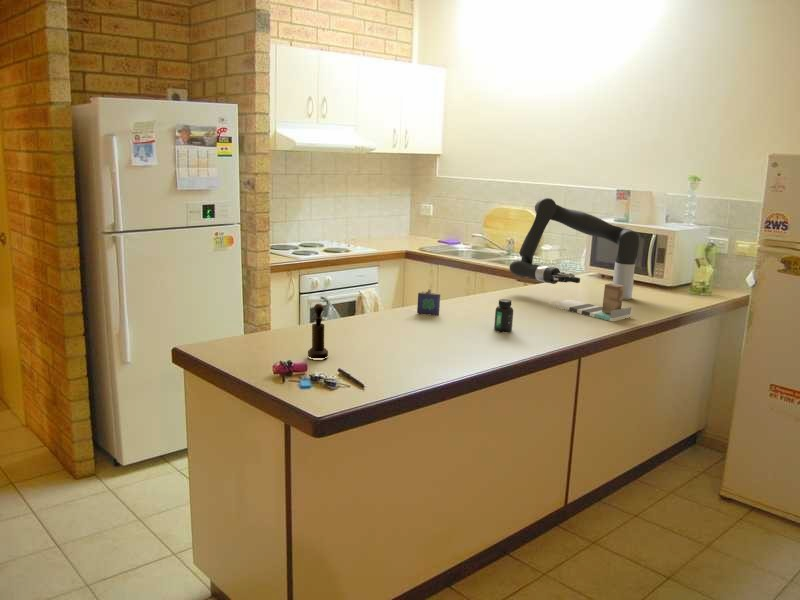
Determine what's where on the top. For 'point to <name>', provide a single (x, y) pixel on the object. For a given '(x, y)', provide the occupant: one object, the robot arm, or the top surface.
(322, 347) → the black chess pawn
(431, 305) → the flask
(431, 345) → the top surface
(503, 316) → the supplement bottle
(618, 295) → the slider block
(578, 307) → the track
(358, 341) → the top surface
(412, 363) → the top surface
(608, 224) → the robot arm
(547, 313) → the top surface
